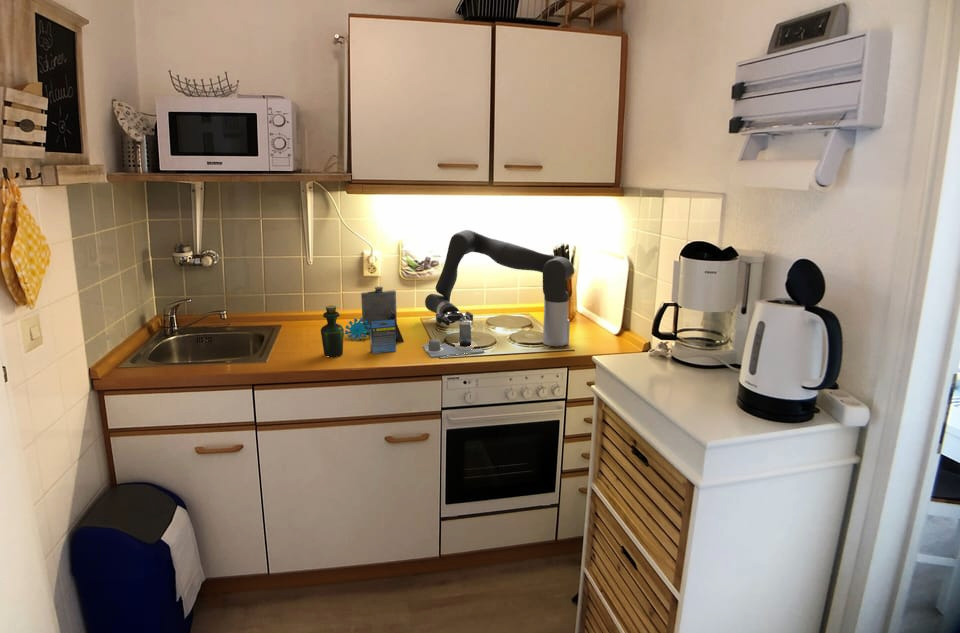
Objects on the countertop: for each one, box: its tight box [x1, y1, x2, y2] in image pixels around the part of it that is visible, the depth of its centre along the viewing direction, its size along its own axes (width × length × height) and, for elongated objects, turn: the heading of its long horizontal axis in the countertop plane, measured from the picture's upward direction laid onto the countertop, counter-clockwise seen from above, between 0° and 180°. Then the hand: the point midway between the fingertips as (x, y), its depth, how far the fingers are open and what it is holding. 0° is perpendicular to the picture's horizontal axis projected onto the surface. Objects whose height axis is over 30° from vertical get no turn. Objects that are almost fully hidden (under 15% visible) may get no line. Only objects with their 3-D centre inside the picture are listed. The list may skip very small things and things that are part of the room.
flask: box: [360, 286, 398, 330], centre depth 260 cm, size 4×14×18 cm, turn 111°
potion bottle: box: [320, 305, 345, 358], centre depth 227 cm, size 8×8×18 cm
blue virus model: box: [344, 317, 370, 341], centre depth 250 cm, size 11×6×10 cm
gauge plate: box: [421, 338, 485, 359], centre depth 236 cm, size 20×14×4 cm
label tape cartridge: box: [369, 319, 397, 354], centre depth 232 cm, size 9×4×12 cm, turn 109°
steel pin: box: [458, 318, 472, 347], centre depth 236 cm, size 4×4×10 cm
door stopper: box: [382, 310, 405, 344], centre depth 245 cm, size 9×6×12 cm, turn 111°
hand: (459, 322), depth 242 cm, fingers open, 8 cm apart
